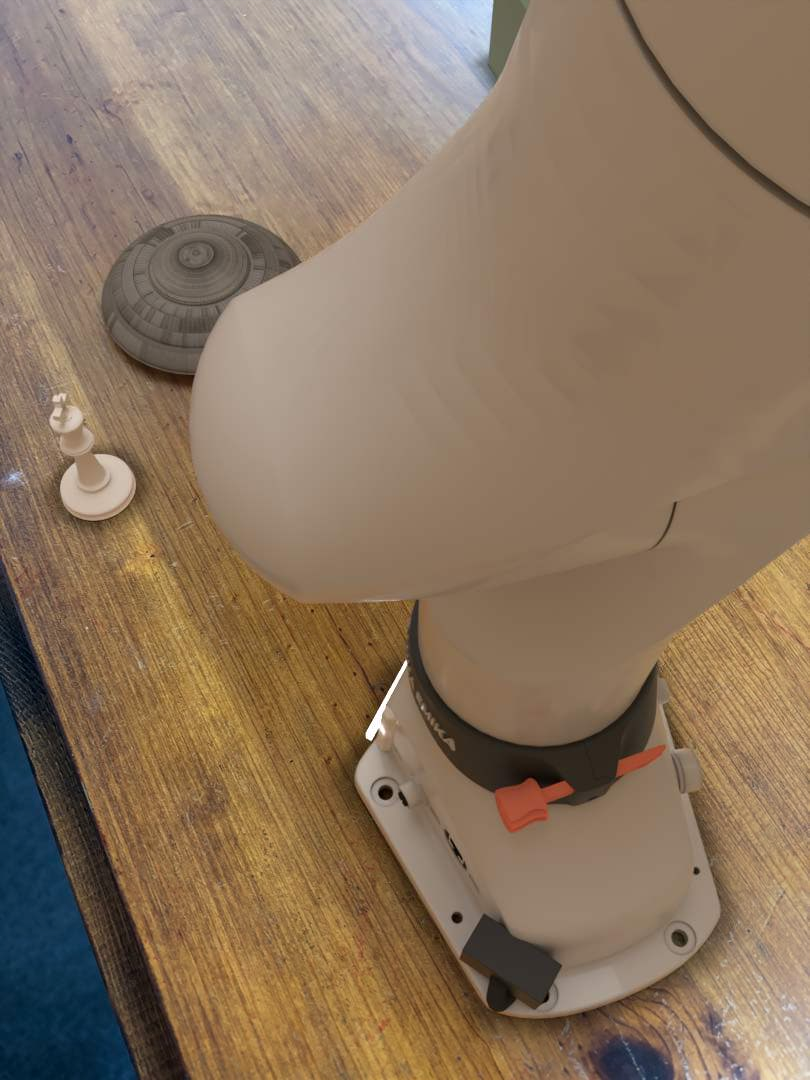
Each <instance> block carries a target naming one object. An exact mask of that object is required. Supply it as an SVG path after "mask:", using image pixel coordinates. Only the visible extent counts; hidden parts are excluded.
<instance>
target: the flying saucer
mask: <svg viewBox="0 0 810 1080" xmlns="http://www.w3.org/2000/svg"><path fill="white" fill-rule="evenodd" d="M300 263H302V260H301V259H300V257H299V256H298V254H297V253H296V252H295V250H294V249H293V248H292V247H291V246H290V245H289V244H288V243H287V242H286V241H285V240H284V239H282V238H281V237H280V236H278V235H277V234H276V233H275V232H273V231H271V230H270V229H268V228H266V227H264V226H262V225H260V224H258V223H255V222H253V221H250V220H248V219H245V218H241V217H237V216H232V215H226V214H216V213H215V214H209V213H208V214H207V213H206V214H194V215H187V216H183V217H178V218H175V219H172V220H169V221H166V222H164V223H161V224H160V225H157V226H155V227H153V228H151V229H149V230H148V231H146V232H145V233H143V234H141V235H140V236H139V237H137V238H136V239H135V240H134V241H132V242H131V243H130V244H129V245H127V247H126V248H125V249H124V250H123V251H122V253H120V255H119V256H118V257H117V259H116V260H115V262H113V264H112V266H111V268H110V269H109V272H108V273H107V276H106V279H105V281H104V284H103V288H102V292H101V300H100V302H101V303H100V304H101V305H100V306H101V314H102V319H103V322H104V325H105V327H106V329H107V331H108V333H109V335H110V337H111V338H112V339H113V341H114V342H115V344H116V345H118V346H119V348H120V349H122V350H123V351H124V352H125V353H126V354H127V355H129V356H130V357H132V358H133V359H135V360H136V361H139V362H140V363H141V364H144V365H146V366H148V367H150V368H153V369H156V370H159V371H163V372H167V373H170V374H171V373H172V374H178V375H188V376H195V373H196V370H197V366H198V362H199V359H200V356H201V354H202V351H203V349H204V346H205V344H206V341H207V339H208V337H209V335H210V333H211V331H212V329H213V327H214V326H215V324H216V322H217V320H218V318H219V317H220V315H221V314H222V312H223V311H224V309H225V308H226V306H227V305H228V304H229V302H230V301H231V300H232V299H233V298H235V297H237V296H239V295H241V294H243V293H245V292H247V291H249V290H251V289H253V288H255V287H257V286H259V285H260V284H262V283H264V282H266V281H268V280H270V279H272V278H274V277H276V276H278V275H280V274H282V273H284V272H286V271H288V270H290V269H292V268H294V267H295V266H297V265H299V264H300Z"/></svg>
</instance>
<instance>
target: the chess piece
mask: <svg viewBox="0 0 810 1080" xmlns="http://www.w3.org/2000/svg"><path fill="white" fill-rule="evenodd" d="M69 400H70V397H69V395H68V393H65V392H63V393H61V392H59V394H58V395H57V394H55V395H54V394H53V397H52V400H51V402H52V405H53V406H54V409H53V411H52V413H51V415H49V416H50V417H49V420H48V421H49V427H50V428H51V429H52V430H53V431H54V432H55V433H56V434H58V435H59V436H60V437H59V442H58V443H59V445H58V446H59V448H60V450H61V452H62V453H63V454H64V455H67V456H70V457H73V459H74V463H72V464H71V465H70V466H69V467H68V468H67V469H66V471H64V474H63V475H62V476H61V477H62V478H61V481H60V484H59V493H60V497H61V502H62V504H63V506H64V508H65V509H66V511H67V512H69V513H70V514H71V515H72V516H74V517H75V518H78V519H81V520H83V521H89V522H90V521H91V522H97V521H104V520H107V519H110V518H112V517H115V516H116V515H119V514H120V513H121V512H122V511H124V510H125V509H126V508H127V507H128V506H129V504H130V503H131V502H132V500H133V499H134V496H135V494H136V489H137V481H136V477H135V475H134V472H133V471H132V469H131V468H130V467H129V465H128V464H127V463H126V462H125V461H124V460H123V459H121V458H119V457H117V456H115V455H112V454H107V453H95V454H94V453H93V451H92V448H93V447H94V444H95V435H94V434H93V432H91V430H90V429H88V428H87V427H84V421H85V418H84V414H83V412H82V410H81V409H80V408H78V407H76V406H75V405H71V404H68V402H69Z"/></svg>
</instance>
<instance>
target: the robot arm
mask: <svg viewBox="0 0 810 1080" xmlns="http://www.w3.org/2000/svg"><path fill="white" fill-rule="evenodd" d="M190 395H191V396H190V401H189V413H188V414H189V415H188V431H189V432H188V433H189V434H188V435H189V447H190V448H189V449H190V454H191V459H192V463H193V468H194V469H193V470H194V473H195V477H196V480H197V484H198V487H199V490H200V493H201V495H202V498H203V501H204V503H205V505H206V507H207V510H208V512H209V514H210V516H211V517H212V519H213V521H214V522H215V524H216V527H217V528H218V530H219V531H220V533H221V534H222V536H223V537H224V538H225V540H226V541H227V543H228V544H229V545H230V547H231V548H232V550H233V551H234V552H235V553H236V554H237V555H238V556H239V557H240V559H241V560H242V561H243V562H244V563H245V564H246V565H247V566H248V567H249V569H251V570H252V571H253V572H254V573H256V574H257V576H259V577H260V578H261V579H262V580H264V581H265V582H266V583H268V584H269V585H271V586H272V587H273V588H274V589H276V590H277V591H278V592H280V593H281V594H284V595H285V596H287V597H289V598H290V599H292V600H293V601H295V602H297V603H299V604H302V605H315V604H316V605H320V604H324V605H325V604H327V605H328V604H355V603H356V604H357V603H358V604H359V603H360V604H361V603H382V602H383V603H384V602H396V601H399V602H400V601H413V600H415V601H414V605H413V607H412V610H411V612H410V616H409V620H408V623H407V629H406V630H407V631H406V637H405V661H404V663H403V665H402V667H401V669H400V671H399V672H398V674H397V676H396V678H395V680H394V682H393V683H392V685H391V687H390V688H389V690H388V692H387V694H386V696H385V698H384V699H383V701H382V703H381V705H380V707H379V709H378V710H377V712H376V714H375V716H374V718H373V719H372V722H371V723H370V725H369V727H368V729H367V730H366V732H365V738H366V739H368V740H369V741H372V740H373V738H374V737H375V734H376V733H377V735H376V737H375V738H374V740H373V742H372V743H371V744H370V745H369V746H368V748H367V749H366V751H364V753H363V755H362V757H361V758H360V759H359V761H358V763H357V766H356V768H355V771H354V777H353V783H354V787H355V789H356V792H357V794H358V795H359V797H360V799H361V800H362V802H363V804H364V805H365V807H366V809H367V810H368V812H369V814H370V816H371V817H372V820H374V822H375V825H376V826H377V828H378V829H379V831H380V833H381V834H382V836H383V837H384V839H385V841H386V843H387V844H388V846H389V848H390V849H391V851H392V853H393V855H394V856H395V858H396V860H397V861H398V863H399V865H400V866H401V867H402V870H403V871H404V873H405V875H406V877H407V878H408V880H409V881H410V883H411V885H412V887H413V888H414V890H415V892H416V893H417V895H418V897H419V898H420V900H421V902H422V903H423V905H424V907H425V909H426V910H427V912H428V913H429V915H430V917H431V919H432V921H433V922H434V924H435V926H436V927H437V929H438V930H439V933H440V934H441V936H442V938H443V939H444V941H445V942H446V944H447V946H448V948H449V949H450V951H451V953H452V954H453V956H454V958H455V959H456V961H457V962H458V965H459V966H460V968H461V970H462V972H464V974H465V976H466V978H467V980H468V982H469V983H470V985H471V986H472V988H473V989H474V991H475V993H476V994H477V997H478V998H479V999H480V1000H481V1001H482V1003H483V1005H484V1006H485V1007H486V1008H487V1009H488V1010H490V1011H491V1012H493V1013H497V1014H501V1015H504V1016H509V1017H513V1018H519V1019H532V1020H537V1019H538V1020H539V1019H555V1018H562V1017H568V1016H573V1015H577V1014H581V1013H584V1012H589V1011H592V1010H595V1009H598V1008H601V1007H604V1006H607V1005H610V1004H612V1003H615V1002H617V1001H620V1000H623V999H626V998H628V997H629V996H632V995H634V994H636V993H638V992H641V991H642V990H645V989H646V988H649V987H651V986H652V985H654V984H656V983H657V982H659V981H661V980H663V979H665V978H666V977H668V976H669V975H671V974H672V973H674V972H675V971H676V970H677V969H679V968H680V967H682V966H683V965H684V964H685V963H687V961H689V960H690V959H691V958H692V957H693V956H694V955H695V954H697V952H698V951H699V950H700V948H702V946H703V945H704V944H705V942H706V941H707V940H708V938H709V937H710V936H711V934H712V933H713V931H714V929H715V927H716V926H717V924H718V922H719V920H720V918H721V913H722V907H721V903H720V899H719V894H718V891H717V886H716V883H715V880H714V878H713V874H712V870H711V867H710V863H709V860H708V856H707V854H706V850H705V847H704V846H705V845H704V843H703V839H702V836H701V833H700V829H699V826H698V823H697V819H696V816H695V811H694V809H693V805H692V801H691V797H690V795H689V793H694V792H698V791H699V790H700V789H702V788H703V783H704V777H703V771H702V766H701V762H700V760H699V757H698V755H697V753H696V752H695V751H694V749H692V748H689V747H682V748H676V746H675V744H674V740H673V736H672V734H671V729H670V726H669V722H668V719H667V716H666V713H665V709H664V706H663V705H665V704H668V703H669V702H670V701H671V690H670V685H669V683H668V681H667V680H666V679H665V677H660V673H661V672H660V666H661V665H660V657H661V656H662V654H663V653H664V651H665V650H666V648H667V647H668V646H669V644H670V642H671V641H672V640H673V638H674V637H675V636H676V635H678V634H679V633H680V632H681V631H683V629H685V628H686V627H687V626H689V625H690V624H691V623H693V622H694V621H695V620H696V619H698V618H700V617H701V616H702V615H703V614H704V613H705V612H707V611H708V610H710V609H712V608H713V607H714V606H716V605H717V604H718V603H719V602H721V601H722V600H724V599H725V598H726V597H727V596H729V595H730V594H731V593H732V592H734V591H735V590H737V589H738V588H739V587H741V586H742V585H743V584H745V583H746V582H748V581H749V580H750V579H751V578H753V577H754V576H756V575H757V574H758V573H760V571H762V570H763V569H764V568H766V567H767V566H768V565H769V564H771V563H772V562H774V561H775V560H776V559H777V558H779V557H780V556H782V555H783V554H785V552H787V551H788V550H790V549H792V548H793V547H794V546H795V545H796V544H798V543H799V542H800V541H802V540H803V539H804V538H805V537H807V536H808V535H810V0H530V3H529V6H528V8H527V11H526V14H525V16H524V19H523V21H522V24H521V27H520V29H519V32H518V34H517V37H516V39H515V42H514V44H513V47H512V49H511V52H510V54H509V57H508V59H507V62H506V64H505V67H504V69H503V71H502V73H501V75H500V77H499V78H498V79H497V80H496V82H495V84H494V85H493V87H492V88H491V90H490V91H489V93H488V94H487V95H486V97H485V98H484V99H483V100H482V101H481V103H480V105H479V106H478V107H477V108H476V110H475V111H473V113H472V114H471V115H470V116H469V118H468V119H467V120H466V121H465V122H464V123H463V124H462V126H461V127H460V128H459V129H458V130H457V131H456V132H455V133H454V134H452V136H451V137H450V138H449V139H448V140H447V142H445V144H444V145H443V146H442V147H441V148H440V149H439V150H438V151H437V152H436V153H435V154H434V155H433V156H432V157H431V158H430V159H428V161H427V162H426V163H425V164H424V165H423V166H422V167H421V168H420V169H419V170H418V171H416V172H415V174H413V176H412V177H410V178H409V179H408V180H407V181H406V182H405V183H404V184H403V185H402V186H401V187H400V188H399V189H398V190H397V191H396V192H395V193H394V194H392V195H391V196H390V197H389V198H388V199H387V200H385V202H383V203H382V204H381V205H380V206H379V207H378V208H377V209H375V210H374V211H373V212H372V213H371V214H370V215H369V216H368V217H366V218H365V219H364V220H362V221H361V222H360V223H358V225H356V226H355V227H354V228H352V229H351V230H349V231H348V232H347V233H345V234H344V235H343V236H341V237H340V238H338V239H337V240H336V241H334V242H333V243H331V244H329V245H328V246H326V247H325V248H323V249H322V250H320V251H319V252H317V253H316V254H314V255H312V256H311V257H309V258H307V259H306V260H304V261H301V263H300V264H299V265H297V266H295V267H294V268H292V269H290V270H288V271H286V272H284V273H282V274H280V275H278V276H276V277H274V278H272V279H270V280H268V281H266V282H264V283H262V284H260V285H259V286H257V287H255V288H253V289H251V290H249V291H247V292H245V293H243V294H241V295H239V296H237V297H235V298H233V299H232V300H231V301H230V302H229V304H228V305H227V306H226V308H225V309H224V311H223V312H222V314H221V315H220V317H219V318H218V320H217V322H216V324H215V326H214V327H213V329H212V331H211V333H210V335H209V337H208V339H207V341H206V344H205V346H204V349H203V351H202V354H201V356H200V359H199V362H198V366H197V370H196V373H195V375H194V377H193V381H192V386H191V394H190ZM385 789H387V790H390V791H391V793H392V796H391V797H390V798H389V799H382V798H381V797H380V795H379V793H380V792H381V791H382V790H385ZM454 916H459V918H461V922H458V923H456V922H454V920H453V917H454ZM673 933H679V934H680V935H681V936H682V937H683V939H684V945H683V946H678V945H676V944H675V943H674V941H673V938H672V937H673ZM546 997H547V1000H546V1002H544V1001H545V999H546Z"/></svg>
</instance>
